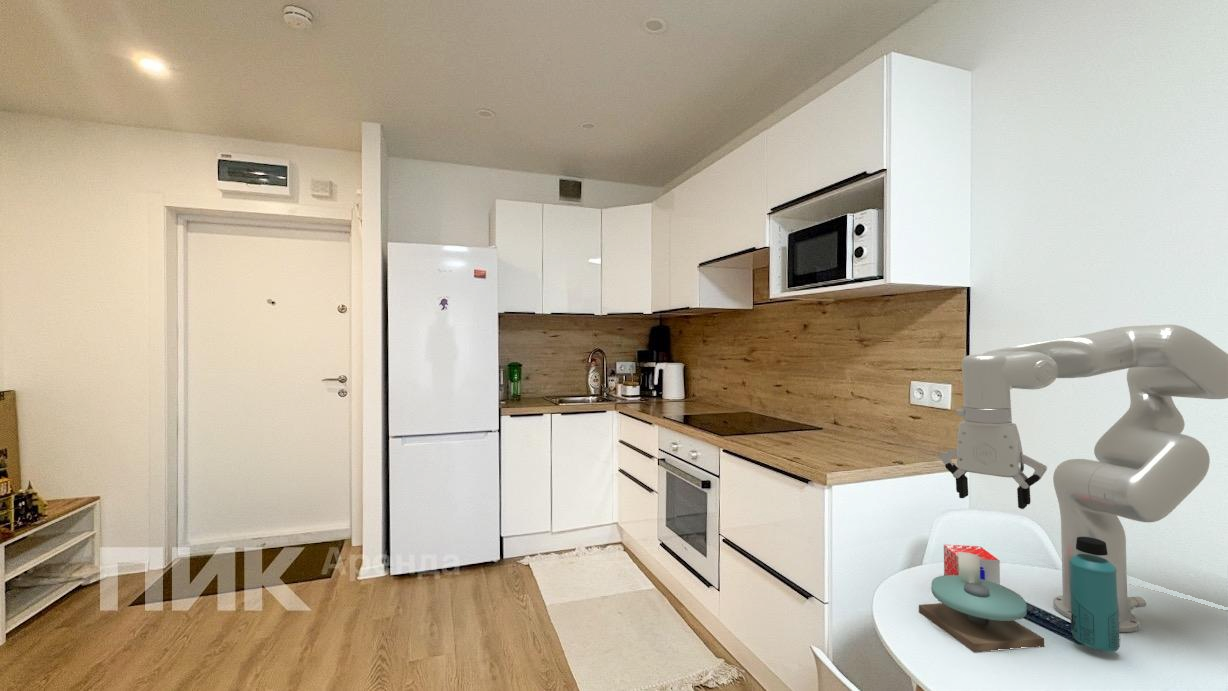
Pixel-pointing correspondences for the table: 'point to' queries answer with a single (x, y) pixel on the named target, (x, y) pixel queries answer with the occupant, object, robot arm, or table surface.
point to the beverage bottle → (1094, 597)
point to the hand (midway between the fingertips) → (992, 501)
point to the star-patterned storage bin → (987, 562)
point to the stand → (980, 629)
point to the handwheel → (977, 593)
